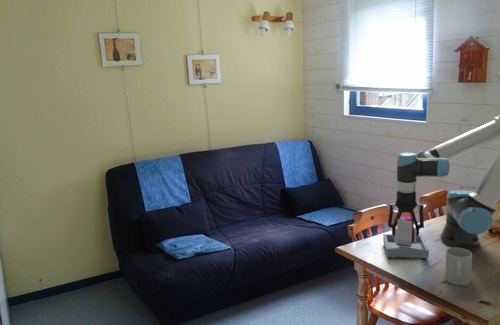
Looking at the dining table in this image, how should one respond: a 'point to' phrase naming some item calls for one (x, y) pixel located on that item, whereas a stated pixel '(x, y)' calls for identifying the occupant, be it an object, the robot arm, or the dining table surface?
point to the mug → (458, 266)
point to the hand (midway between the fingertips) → (405, 242)
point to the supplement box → (405, 231)
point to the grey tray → (405, 248)
